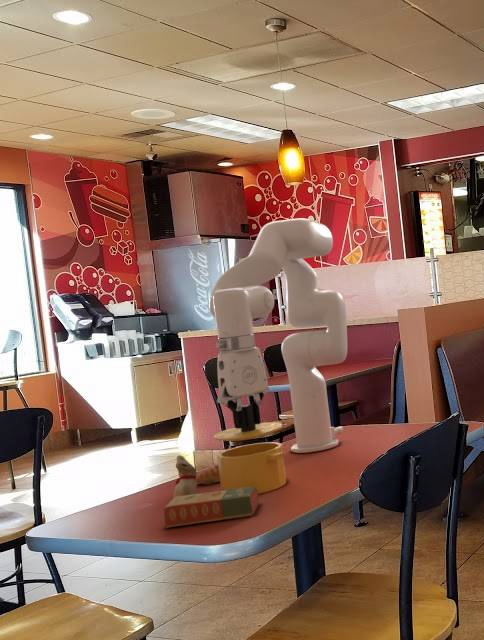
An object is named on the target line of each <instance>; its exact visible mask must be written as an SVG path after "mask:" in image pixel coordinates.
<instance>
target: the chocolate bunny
mask: <svg viewBox="0 0 484 640" xmlns="http://www.w3.org/2000/svg"><path fill="white" fill-rule="evenodd" d="M175 468H176V469H177V472H178V477H179V478H177V479H176V481H175V486H174V489H173V493H172V499H173V498H175V497H179V496H186V495H193V494H198V493H197V487H198V483H197V482H196V477H197V475H198V474H197V469H196V468H195V467H194V465H193V464H191V463H190V462H189V461H188V460H187V459H186V458H185V456H183V455H181V454H180V455H179V454H178V455H177V456H176V463H175Z"/></svg>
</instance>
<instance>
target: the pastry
mask: <svg viewBox="0 0 484 640" xmlns="http://www.w3.org/2000/svg"><path fill="white" fill-rule="evenodd" d="M196 482H197V484H200V485H211V484H216V483H220V475H219V467H218V463H217V464H215V465H213V466H210V467H209V468H207V469H205V470H203V471H202V472H200V473H198V474H196Z"/></svg>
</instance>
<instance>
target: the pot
mask: <svg viewBox="0 0 484 640" xmlns="http://www.w3.org/2000/svg"><path fill="white" fill-rule="evenodd" d="M216 457H217V464H218V467H219V475H220V482H219V483H220V491H222V490H230V489H237V488H244V487H251V486H256V487H257V492H258V495H261V494H264V493H265V494H266V493H268V492H271V491H274V490H277V489H279V488H282V487H283V486H284V485H285V484H286V483H287V476H286V466H285V453H284V451H283V444H282V443H280V442H272V441H269V442H257V443H250V444H244V445H239V446H235V447H232V448H227V449H225V450H223V451H220V452H218V454H217V455H216Z"/></svg>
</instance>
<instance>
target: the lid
mask: <svg viewBox="0 0 484 640" xmlns="http://www.w3.org/2000/svg"><path fill="white" fill-rule="evenodd" d="M242 410H244V412H245V419H246V426H247V427H246V428H244V429H236V428H235V426H234V427H231V428H227V429H225V430H222V431H219V432H217V433H215V434H214V436H213V438H214V440H216V441H221V442H222V441H224V442H239V441H241V442H242V441H247V440H253V439H257V438H263V437H265V436H268V435H271V434H273V433H275V432H278V431H279V430H281V429H282V428H283V424H282V423H281V422H275V421H272V422H271V421H270V422H268V421H267V422H261V423H260V424H255V417H254V410H253V404H249V403H248V404H242Z"/></svg>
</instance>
